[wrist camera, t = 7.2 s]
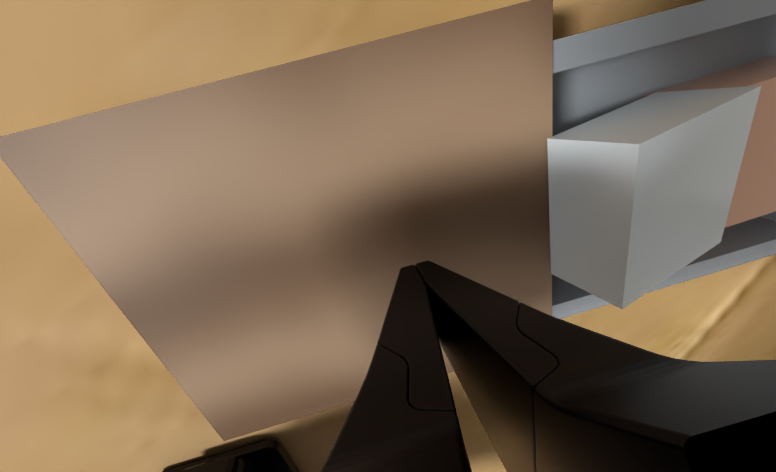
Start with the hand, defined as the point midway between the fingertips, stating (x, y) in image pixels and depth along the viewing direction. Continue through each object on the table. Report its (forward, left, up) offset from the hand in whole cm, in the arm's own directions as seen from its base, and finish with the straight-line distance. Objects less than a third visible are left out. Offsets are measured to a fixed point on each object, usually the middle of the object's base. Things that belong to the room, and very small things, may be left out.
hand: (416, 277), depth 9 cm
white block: (0, -7, -2) cm, 8 cm away
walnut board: (0, +2, -4) cm, 4 cm away
